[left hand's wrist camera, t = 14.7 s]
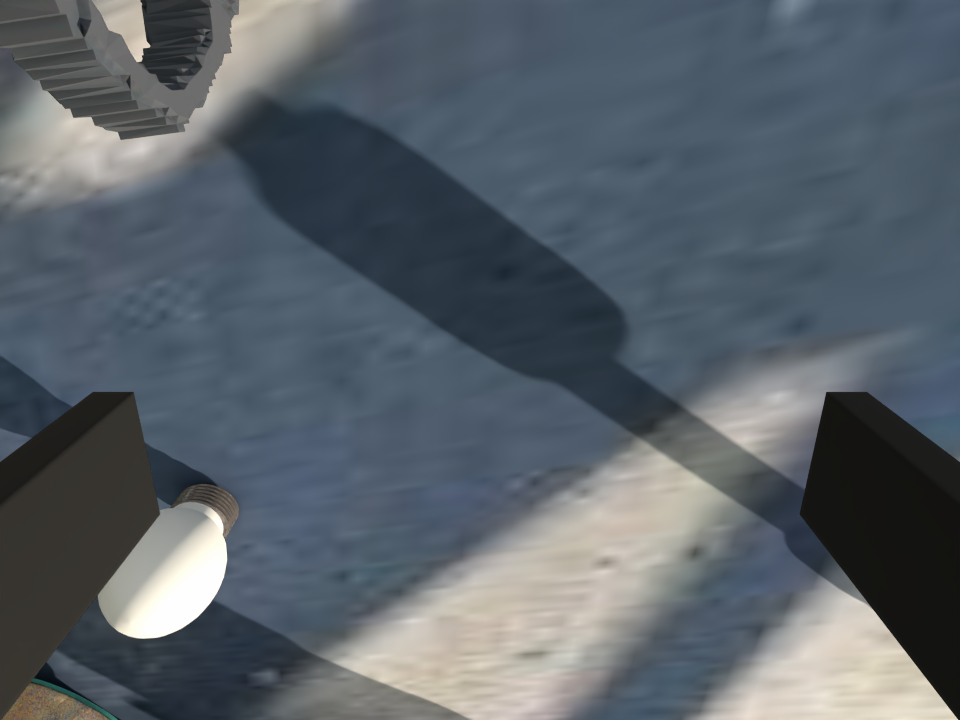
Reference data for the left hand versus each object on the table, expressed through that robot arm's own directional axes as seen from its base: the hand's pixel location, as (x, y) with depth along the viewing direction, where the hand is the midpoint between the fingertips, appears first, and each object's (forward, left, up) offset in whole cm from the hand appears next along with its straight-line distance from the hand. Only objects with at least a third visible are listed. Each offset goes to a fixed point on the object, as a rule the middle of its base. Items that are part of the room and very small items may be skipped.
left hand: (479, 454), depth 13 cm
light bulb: (+24, +15, -28) cm, 39 cm away
